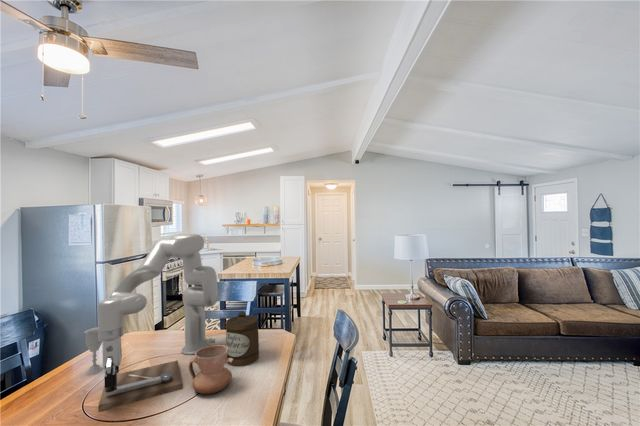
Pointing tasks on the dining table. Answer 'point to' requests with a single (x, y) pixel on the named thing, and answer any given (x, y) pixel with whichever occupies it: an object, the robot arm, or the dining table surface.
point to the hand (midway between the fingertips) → (112, 379)
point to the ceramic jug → (211, 369)
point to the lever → (138, 383)
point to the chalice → (93, 348)
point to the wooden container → (242, 339)
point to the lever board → (142, 392)
